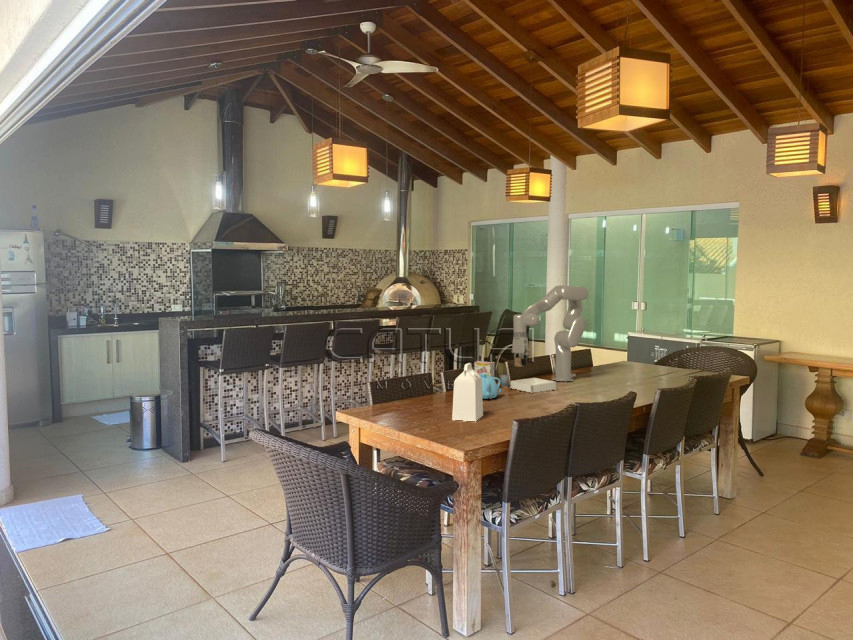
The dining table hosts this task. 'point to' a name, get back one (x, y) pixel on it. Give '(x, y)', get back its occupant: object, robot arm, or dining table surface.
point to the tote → (533, 385)
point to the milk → (467, 396)
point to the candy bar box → (484, 368)
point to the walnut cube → (518, 362)
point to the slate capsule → (504, 380)
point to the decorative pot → (489, 386)
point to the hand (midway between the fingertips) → (520, 364)
